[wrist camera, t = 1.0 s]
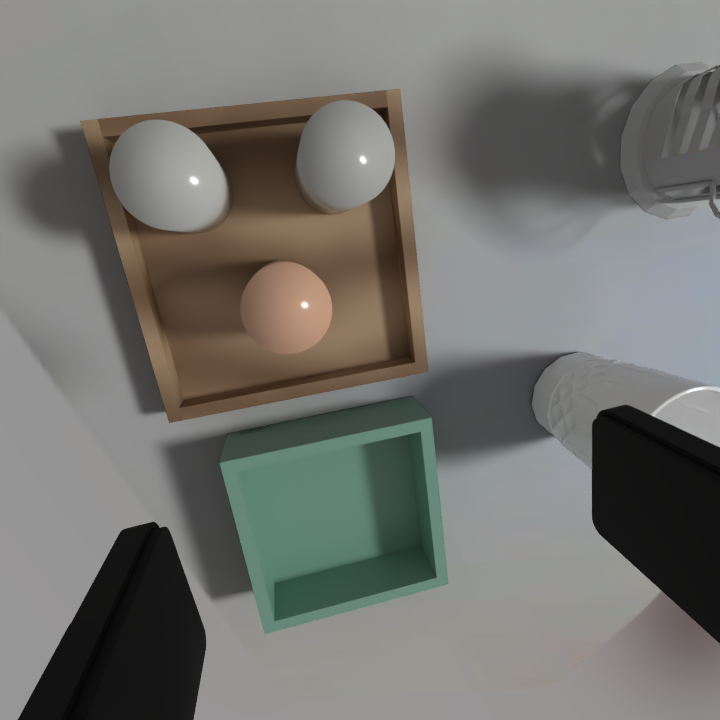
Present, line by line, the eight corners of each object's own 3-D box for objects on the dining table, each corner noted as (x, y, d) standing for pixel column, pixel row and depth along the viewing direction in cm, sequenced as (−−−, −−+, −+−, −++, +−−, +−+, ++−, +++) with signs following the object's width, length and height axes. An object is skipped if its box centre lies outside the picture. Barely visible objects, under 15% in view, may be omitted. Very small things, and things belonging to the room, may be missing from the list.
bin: (227, 433, 29) (219, 462, 25) (412, 395, 30) (431, 417, 27) (266, 588, 32) (264, 633, 28) (429, 546, 34) (448, 583, 30)
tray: (96, 130, 23) (80, 120, 21) (390, 100, 25) (400, 88, 23) (176, 410, 28) (169, 422, 26) (418, 363, 30) (428, 371, 28)
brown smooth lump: (241, 265, 25) (231, 271, 20) (314, 254, 26) (324, 257, 20) (256, 336, 27) (251, 361, 21) (325, 324, 27) (338, 345, 22)
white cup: (527, 451, 34) (625, 533, 24) (520, 357, 31) (625, 406, 22) (616, 427, 35) (744, 496, 25) (615, 333, 32) (756, 371, 23)
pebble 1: (140, 154, 23) (95, 125, 17) (223, 145, 24) (205, 114, 18) (162, 238, 24) (126, 236, 19) (240, 227, 25) (229, 223, 19)
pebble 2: (287, 138, 24) (291, 105, 18) (363, 129, 25) (388, 95, 19) (301, 219, 25) (308, 212, 20) (373, 209, 26) (400, 199, 20)
